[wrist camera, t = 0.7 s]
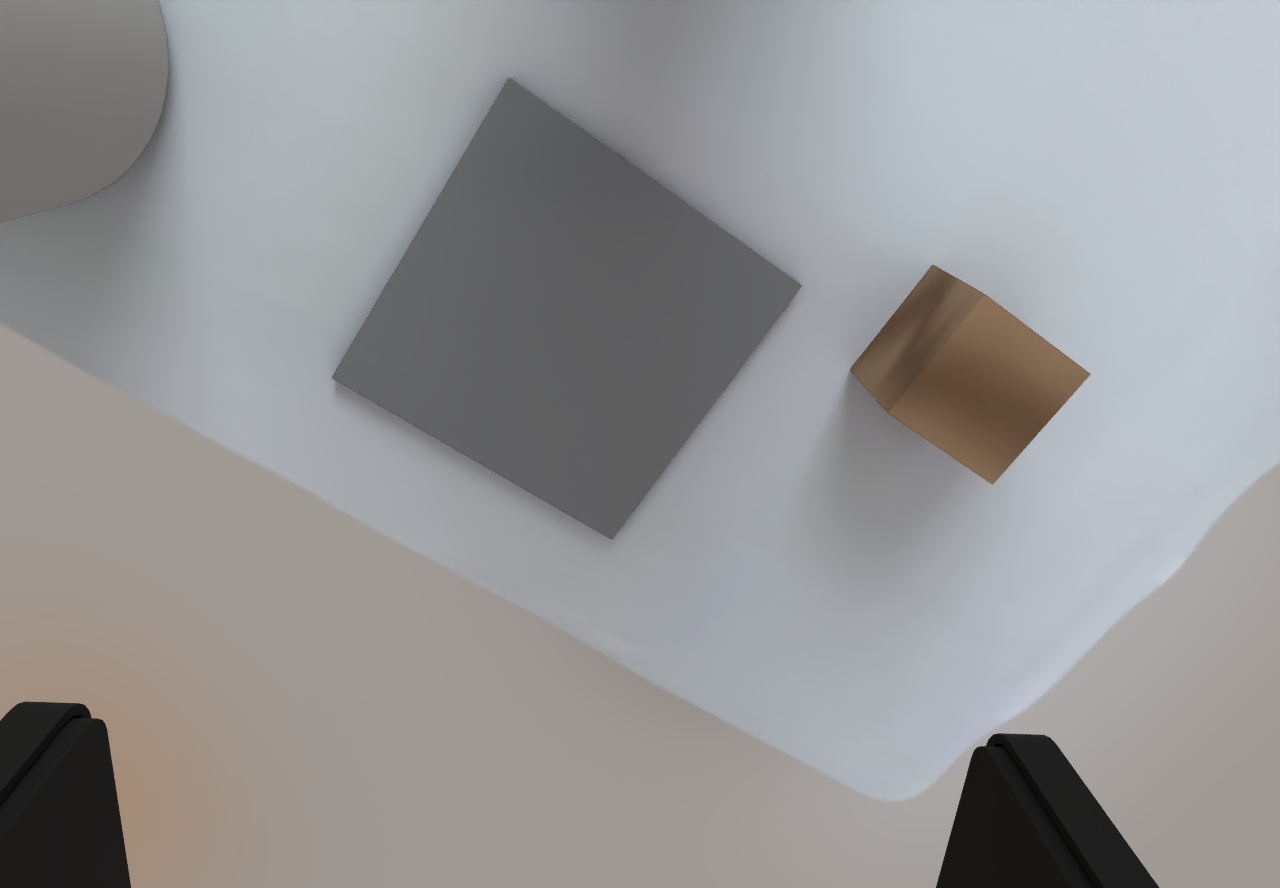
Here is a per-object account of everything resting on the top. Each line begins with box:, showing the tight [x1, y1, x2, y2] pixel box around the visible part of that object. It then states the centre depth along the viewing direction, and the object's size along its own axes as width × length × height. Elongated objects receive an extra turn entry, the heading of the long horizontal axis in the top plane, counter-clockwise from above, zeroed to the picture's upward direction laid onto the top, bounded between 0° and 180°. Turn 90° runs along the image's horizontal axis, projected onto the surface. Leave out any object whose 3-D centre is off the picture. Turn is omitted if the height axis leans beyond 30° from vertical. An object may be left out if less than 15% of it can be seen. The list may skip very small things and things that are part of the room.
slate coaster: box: [332, 78, 802, 539], centre depth 38 cm, size 14×14×1 cm
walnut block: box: [850, 265, 1090, 485], centre depth 37 cm, size 6×6×6 cm
